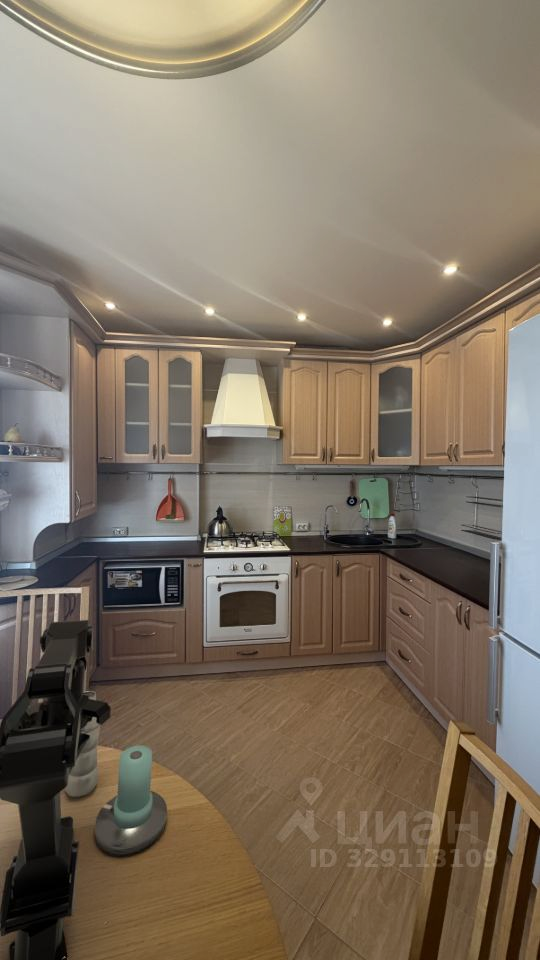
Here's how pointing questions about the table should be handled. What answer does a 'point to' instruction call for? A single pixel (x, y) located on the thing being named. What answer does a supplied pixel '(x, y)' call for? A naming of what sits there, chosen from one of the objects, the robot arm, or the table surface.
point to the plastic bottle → (85, 761)
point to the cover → (133, 788)
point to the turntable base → (129, 852)
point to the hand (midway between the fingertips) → (60, 784)
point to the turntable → (133, 837)
